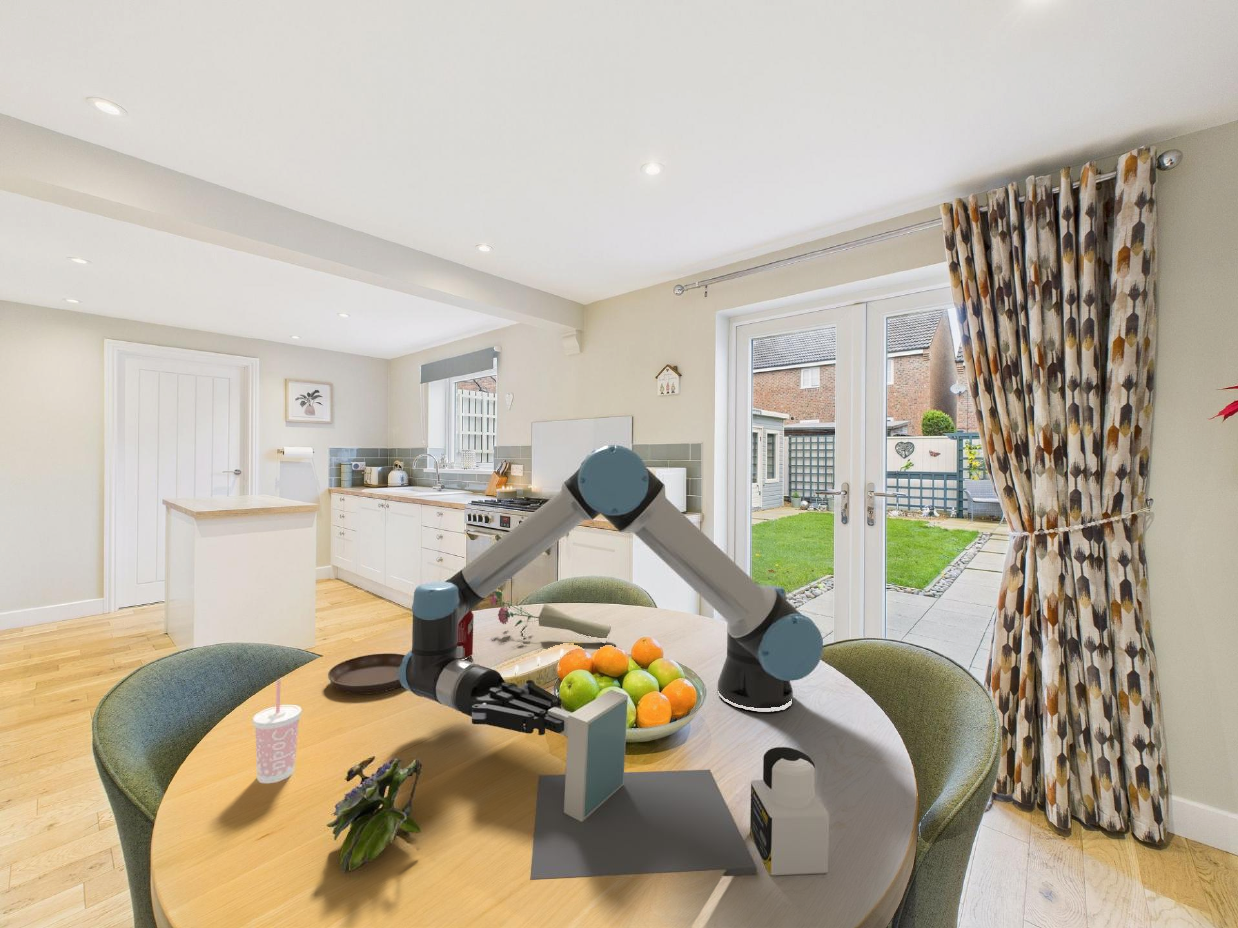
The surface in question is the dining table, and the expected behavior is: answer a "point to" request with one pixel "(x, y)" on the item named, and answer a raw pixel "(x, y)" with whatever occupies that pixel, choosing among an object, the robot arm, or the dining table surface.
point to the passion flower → (373, 811)
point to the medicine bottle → (789, 815)
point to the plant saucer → (367, 673)
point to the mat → (639, 829)
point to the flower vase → (555, 620)
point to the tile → (595, 753)
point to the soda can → (465, 636)
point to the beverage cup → (276, 740)
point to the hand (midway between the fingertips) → (586, 730)
